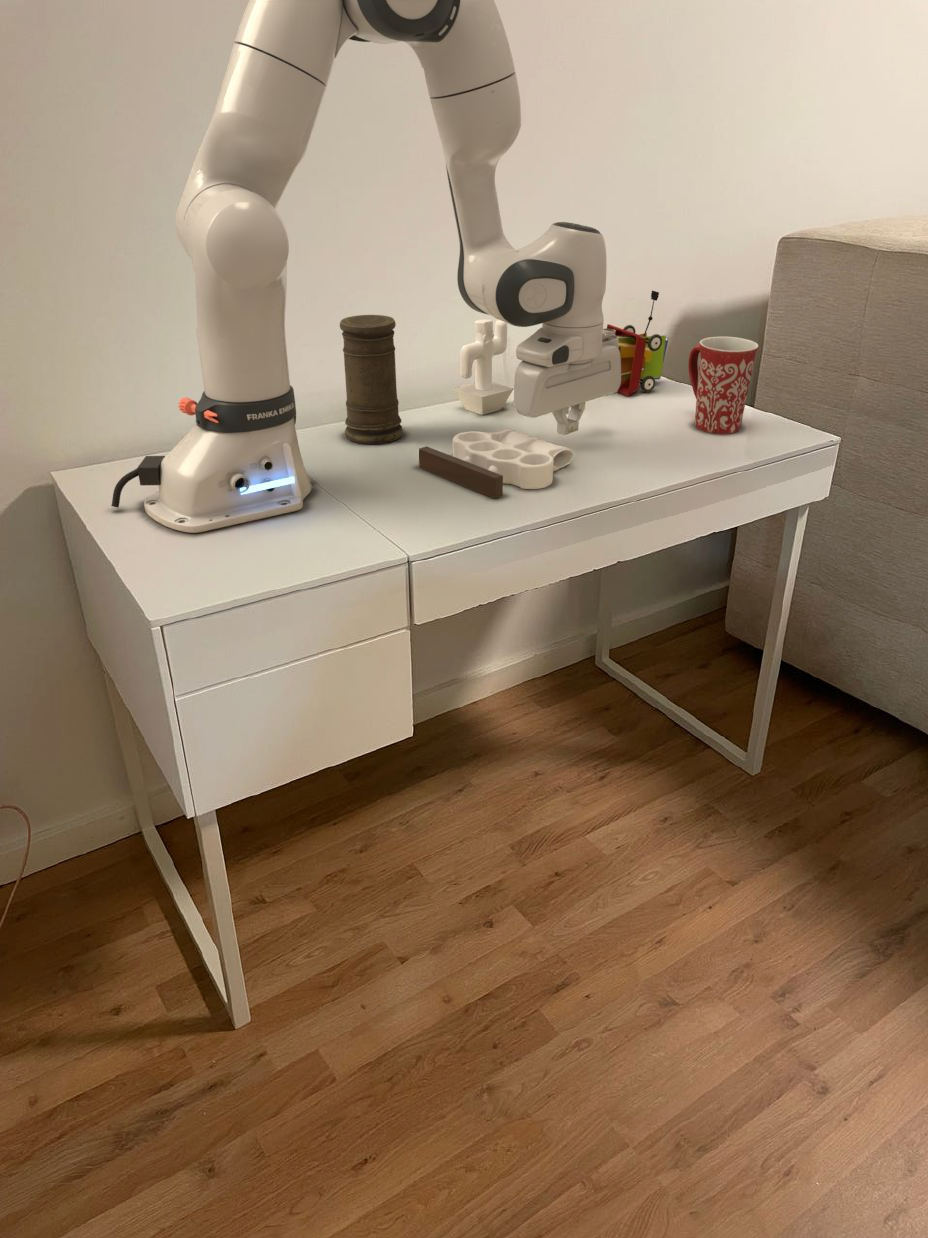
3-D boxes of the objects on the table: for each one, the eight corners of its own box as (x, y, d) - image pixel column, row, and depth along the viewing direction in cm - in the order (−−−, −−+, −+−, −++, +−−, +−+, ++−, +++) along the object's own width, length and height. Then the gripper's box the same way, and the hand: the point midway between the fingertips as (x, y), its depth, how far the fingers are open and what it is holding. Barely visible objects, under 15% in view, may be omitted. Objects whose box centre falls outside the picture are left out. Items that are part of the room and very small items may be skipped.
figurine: (448, 410, 166) (447, 320, 158) (489, 399, 171) (490, 311, 164) (476, 420, 161) (477, 328, 154) (517, 408, 166) (520, 318, 159)
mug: (758, 431, 156) (771, 346, 149) (712, 439, 152) (723, 352, 146) (709, 409, 165) (719, 328, 159) (665, 416, 162) (673, 334, 155)
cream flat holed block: (588, 471, 140) (517, 498, 132) (502, 440, 152) (431, 463, 143) (590, 449, 139) (517, 474, 130) (502, 420, 150) (430, 441, 142)
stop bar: (494, 499, 132) (495, 478, 130) (419, 467, 142) (418, 448, 140) (502, 496, 132) (503, 475, 131) (427, 465, 143) (426, 445, 141)
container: (412, 437, 154) (409, 321, 145) (362, 448, 149) (355, 329, 140) (384, 422, 160) (378, 310, 151) (335, 433, 156) (327, 318, 147)
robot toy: (675, 393, 177) (584, 399, 168) (644, 381, 184) (555, 385, 175) (693, 296, 169) (598, 296, 160) (660, 286, 176) (567, 286, 167)
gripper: (602, 325, 150) (597, 413, 157) (507, 349, 138) (506, 442, 145) (634, 333, 146) (627, 422, 153) (539, 357, 134) (536, 453, 141)
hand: (567, 432), depth 149 cm, fingers closed
